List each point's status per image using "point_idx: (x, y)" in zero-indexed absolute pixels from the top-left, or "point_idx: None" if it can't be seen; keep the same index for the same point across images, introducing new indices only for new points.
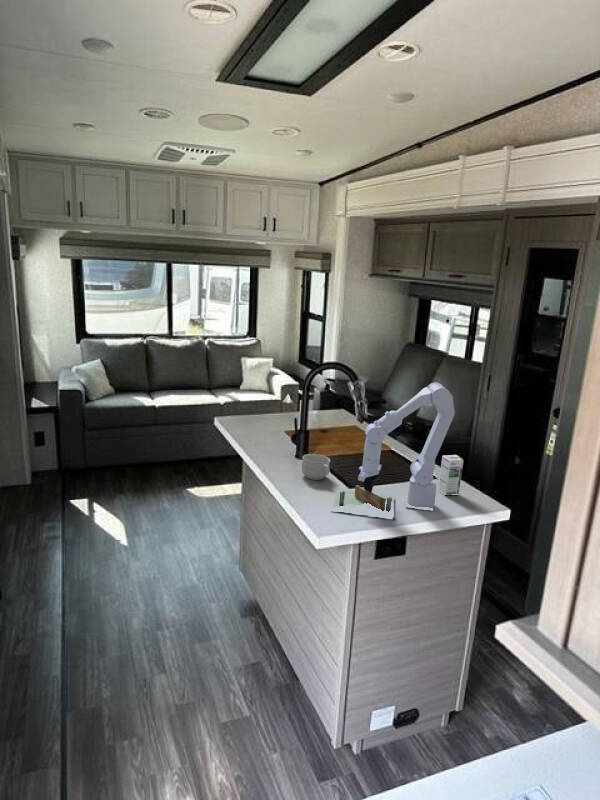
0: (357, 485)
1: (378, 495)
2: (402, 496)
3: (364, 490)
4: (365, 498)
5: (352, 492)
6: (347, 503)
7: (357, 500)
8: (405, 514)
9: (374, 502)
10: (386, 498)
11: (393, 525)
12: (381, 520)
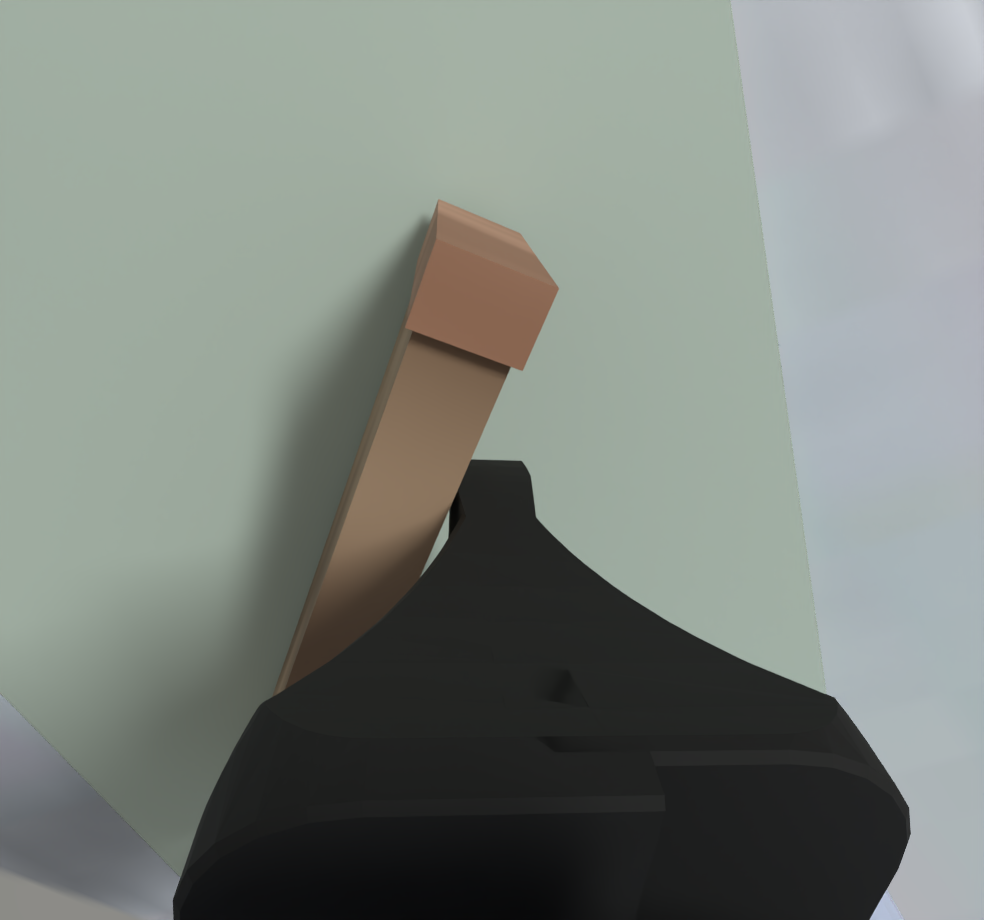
0: (513, 279)
1: (779, 523)
2: (934, 719)
3: (352, 551)
4: (339, 510)
5: (667, 36)
6: (40, 205)
7: (341, 318)
8: None
9: (276, 692)
10: (722, 644)
11: (80, 887)
12: (70, 781)
